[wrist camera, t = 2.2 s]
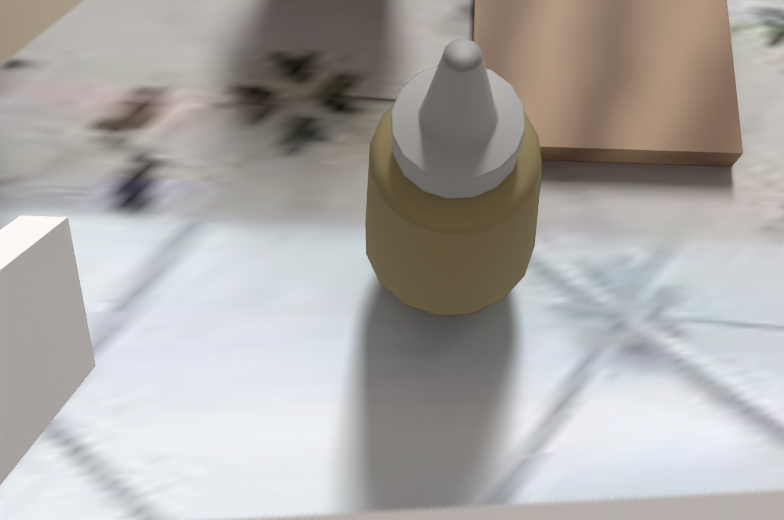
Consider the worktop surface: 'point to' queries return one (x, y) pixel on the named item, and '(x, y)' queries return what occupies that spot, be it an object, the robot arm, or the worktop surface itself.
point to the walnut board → (618, 77)
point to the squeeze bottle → (453, 188)
